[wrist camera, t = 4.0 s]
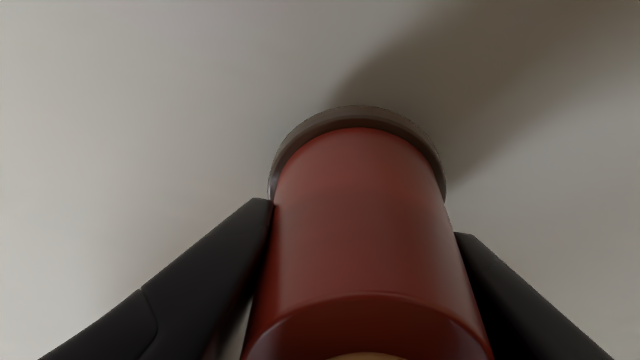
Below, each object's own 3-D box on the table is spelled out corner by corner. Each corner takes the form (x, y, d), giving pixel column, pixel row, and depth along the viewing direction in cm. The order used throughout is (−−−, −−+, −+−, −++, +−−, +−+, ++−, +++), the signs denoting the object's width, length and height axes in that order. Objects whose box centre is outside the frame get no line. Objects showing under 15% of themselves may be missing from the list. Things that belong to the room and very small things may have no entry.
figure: (471, 204, 11) (713, 790, 4) (332, 273, 12) (320, 817, 5) (385, 68, 9) (521, 625, 2) (235, 162, 11) (21, 721, 4)
